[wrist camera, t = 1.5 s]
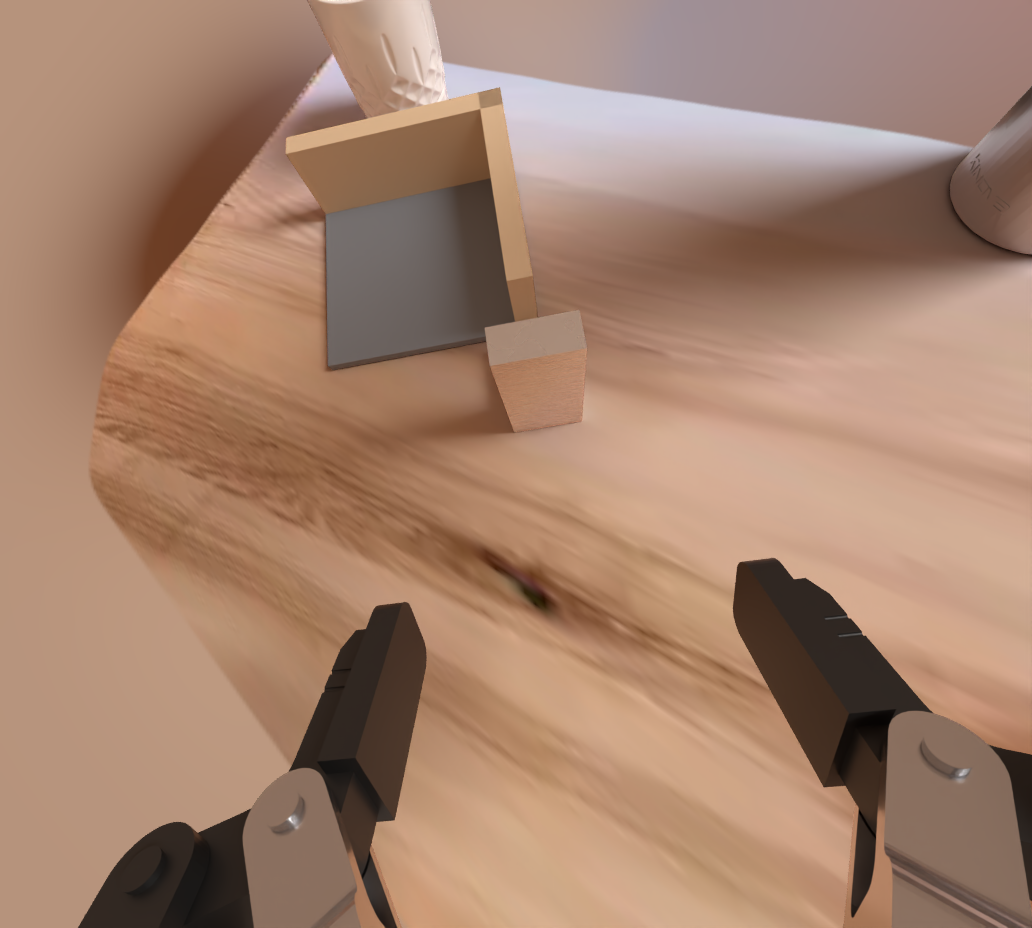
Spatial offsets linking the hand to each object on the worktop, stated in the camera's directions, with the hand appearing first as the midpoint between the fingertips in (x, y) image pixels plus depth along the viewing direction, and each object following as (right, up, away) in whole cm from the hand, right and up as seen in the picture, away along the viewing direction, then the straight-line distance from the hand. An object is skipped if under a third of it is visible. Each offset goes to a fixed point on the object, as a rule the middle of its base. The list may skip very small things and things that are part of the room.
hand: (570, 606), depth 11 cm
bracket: (0, +9, +18) cm, 20 cm away
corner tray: (-8, +19, +22) cm, 30 cm away
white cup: (-10, +32, +26) cm, 43 cm away
